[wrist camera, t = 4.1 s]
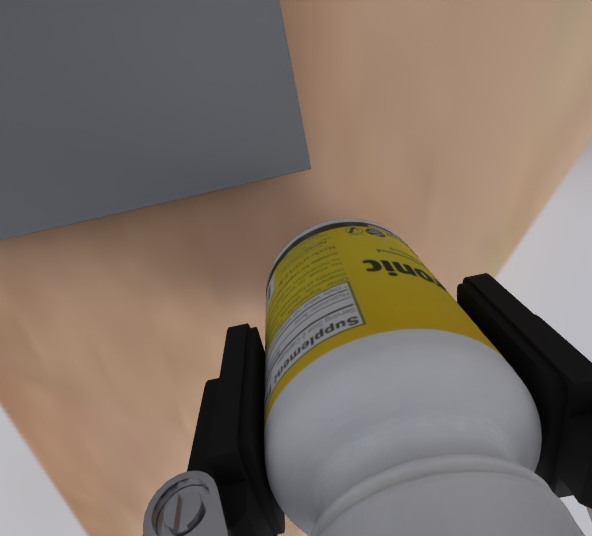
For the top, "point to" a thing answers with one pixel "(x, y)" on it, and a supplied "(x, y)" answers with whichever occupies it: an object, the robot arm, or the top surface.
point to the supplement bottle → (392, 400)
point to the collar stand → (139, 105)
